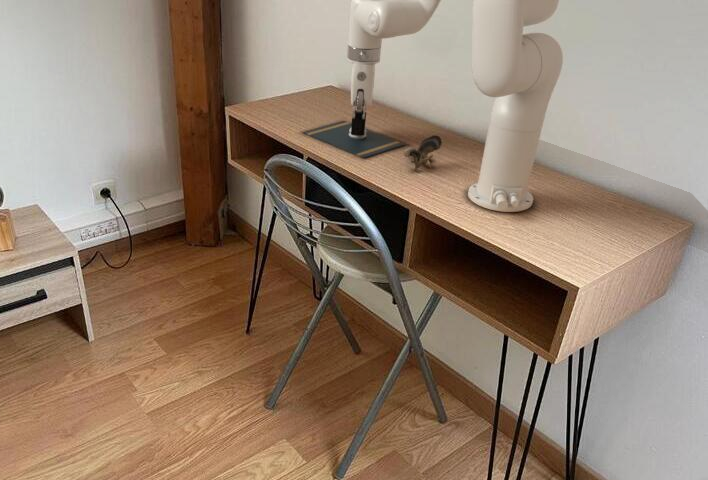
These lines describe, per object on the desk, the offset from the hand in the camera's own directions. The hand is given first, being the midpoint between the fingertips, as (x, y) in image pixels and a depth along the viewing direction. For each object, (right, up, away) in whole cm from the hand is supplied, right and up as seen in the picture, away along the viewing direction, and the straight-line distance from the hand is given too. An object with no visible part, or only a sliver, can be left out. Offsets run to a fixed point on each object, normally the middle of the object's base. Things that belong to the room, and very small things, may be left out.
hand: (358, 130), depth 155 cm
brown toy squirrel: (+13, -11, -13) cm, 21 cm away
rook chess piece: (0, -1, +1) cm, 2 cm away
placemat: (-1, -2, 0) cm, 2 cm away
